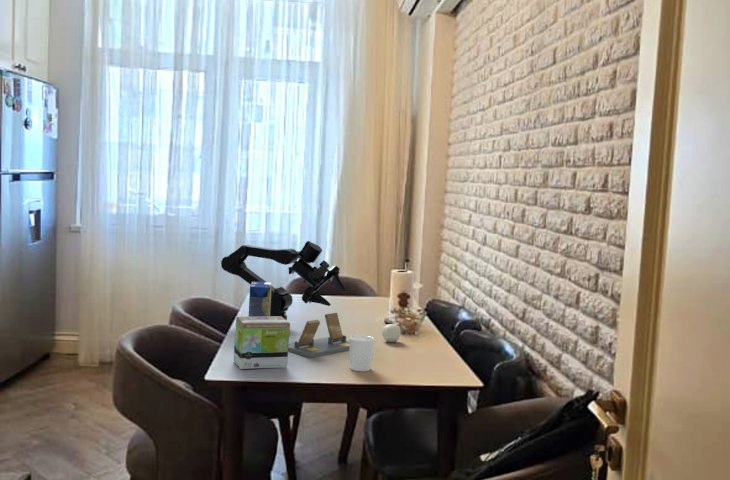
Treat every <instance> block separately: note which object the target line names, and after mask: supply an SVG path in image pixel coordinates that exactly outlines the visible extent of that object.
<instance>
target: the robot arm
mask: <svg viewBox="0 0 730 480" xmlns="http://www.w3.org/2000/svg"><path fill="white" fill-rule="evenodd" d="M322 252H323V249H322V247H321V246H319V245H318V244H316V243H314V242H311V241H310V240H307V241H306V242H305V244H304V245H303V247H302V249H301V250H300V251H299V250H298V251H297V250H296V249H294V248H278V249H275V248H269V247H268V248H267V247H263V246H256V245H252V244H251V245H250V244H244V245H243V244H242V245H241V246H239V248H237V249H236V250H234V251H233V252H232V253H230V254H229V255H228V256H224V257H223V258H222V259H221V263H220V265H221V269H222V270H224V271H225V272H227V273H229V274H231V275H234V276H238V277H239V278H241V279H242V280H243V281H244V282H246V283H248V284H249V285H250V286H251V283H252V281H254V282H267V281H266V280H264V278H262V277H261V276H259V275H258V274H256V273H255V272H254V271H252V270H251V269H250V268H248V266H247V265H246V263H245V261H246V260H247V258H248V257H254V258H255V257H256V258H262V259H267V260H271V261H272V260H273V261H275V262H276V263H279V264H280V265H284V266H286V265H291V264H292V265H291V266H289V267H288V274H289V275H292V274H295V273H296V274H297V275H298V276H299V277H300V278H301V279H302V280H303V283H305V284H306V283H307V284H308V285H309V286H308V287H307V288H306V289H305V290H304V291H303V292H302V296H301V300H302V302H304V303H305V304H306V305H307V304H308V303H309V304H311V303H314V304H321V305H324V306H328V307H330V306H331V305H332V304H331V303H330V302H329V301H328V300H327V299H326V298H325V297H324V296H322V295H321V294H320V293H319V289H320V288H321V287H322V286H324V285H325V284H326V283H327V282H330V284H331V285H333V286H334V287H336V288H337V289H338V290H340V291H341V292H343V293H346V292H347V291H346V288H345V286H344V285H343V283H342V281H341V279H340V276H339V274H340V270H341V268H340V267H339V266H338V265H333V266H332V267H330V264H329V262H327V261H325V260H322V261H321V262H320V263H319V267H317V266H312V265H311V264H312V263H313V264H314V263H315V262H316V260H317V259H318V258H319V256H320V255H321V253H322ZM329 267H330V269H329ZM290 293H291V292H290V291H288V290H286V289H285V288H284V287H283V286H280V287H274V286H273V285H272V289H271V308H270V316H282V317H283V318H284V319H285V320H287V321H288V315H287V311H288V309H289V307H291V306H292V304H293V295H291V294H290Z"/></svg>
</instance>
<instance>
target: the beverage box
mask: <svg viewBox="0 0 730 480" xmlns="http://www.w3.org/2000/svg"><path fill="white" fill-rule="evenodd" d="M272 284H273V283H272V282H271V281H266V282H254V281H252V283H251V285H250V286H249V298H248V317H260V316H270V308H271V289H272V286H273V285H272Z"/></svg>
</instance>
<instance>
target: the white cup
mask: <svg viewBox="0 0 730 480" xmlns="http://www.w3.org/2000/svg"><path fill="white" fill-rule="evenodd" d="M349 342H350V348H349V350H348V351H349V357H348V358H349V369H350V370H352V371H355V372H368V371H371V370H372V369H371V368H372V361H373V355H374V349H375V347H374V345H375V338H374V337H373V336H369V335H363V334H356V335H350V336H349Z"/></svg>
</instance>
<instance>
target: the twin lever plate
mask: <svg viewBox="0 0 730 480" xmlns="http://www.w3.org/2000/svg"><path fill="white" fill-rule="evenodd" d="M342 335H343V337H342V338H343V341H338V342H333V338H331V337H330V336H325V337H320V338H315V339H314V338H313V340H312V343H311V344H310V345H307V346H301V347H300V342H299V341H294V342H293V343H292V342H291V343H289V345H288V352H289V353H293V354H297V355H299V356H302V357H304V358H305V357H306V358H307V359H308V358H309V359H311V358H316V357H319V356H325V355H330V354H334V353H335V354H336V353H339V352H344V351H349V348H350V340H347V335H344V334H342Z"/></svg>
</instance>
